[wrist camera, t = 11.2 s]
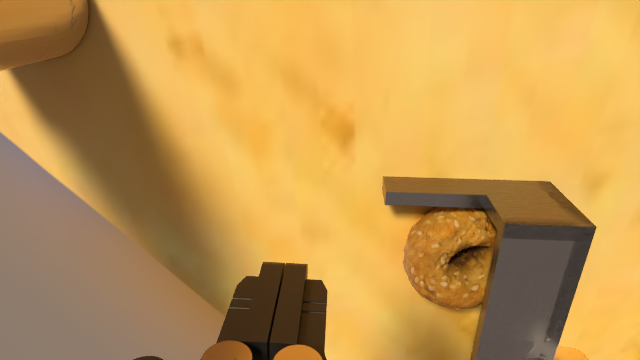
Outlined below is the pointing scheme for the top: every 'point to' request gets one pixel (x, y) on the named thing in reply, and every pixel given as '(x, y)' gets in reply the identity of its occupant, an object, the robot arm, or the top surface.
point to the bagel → (436, 256)
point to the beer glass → (569, 354)
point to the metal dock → (515, 258)
